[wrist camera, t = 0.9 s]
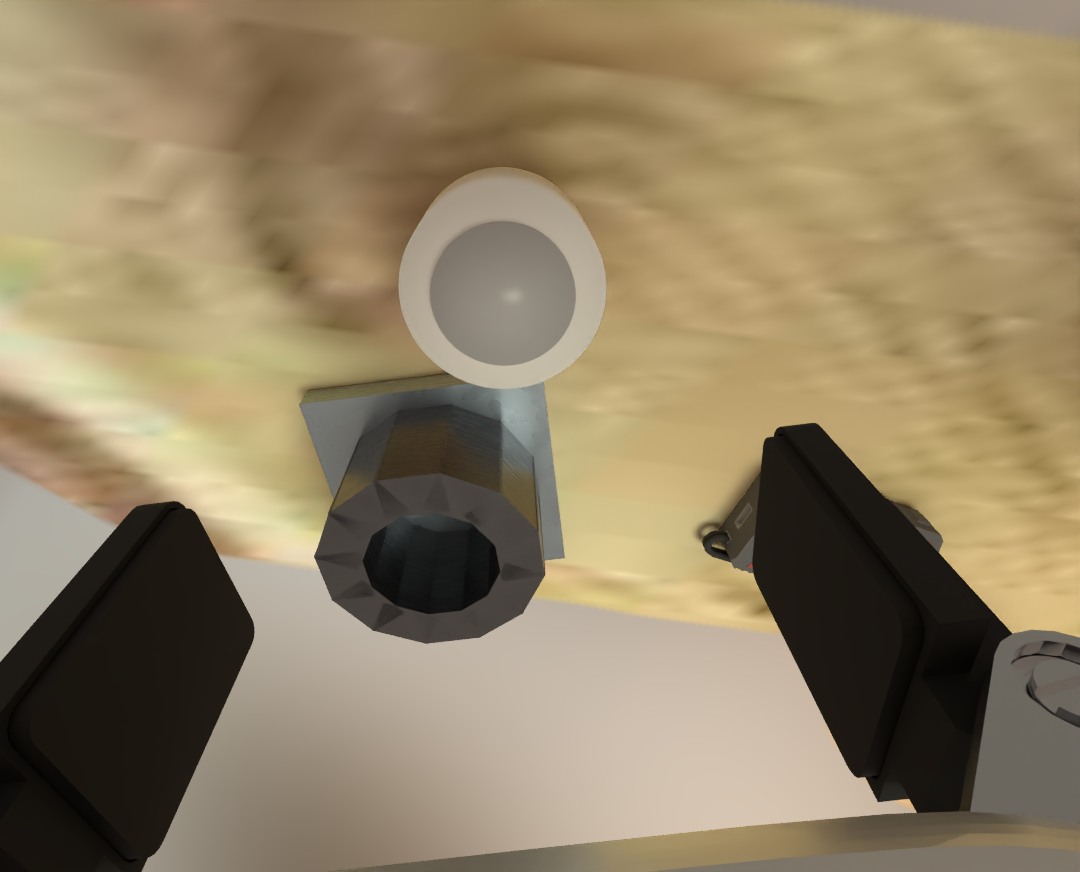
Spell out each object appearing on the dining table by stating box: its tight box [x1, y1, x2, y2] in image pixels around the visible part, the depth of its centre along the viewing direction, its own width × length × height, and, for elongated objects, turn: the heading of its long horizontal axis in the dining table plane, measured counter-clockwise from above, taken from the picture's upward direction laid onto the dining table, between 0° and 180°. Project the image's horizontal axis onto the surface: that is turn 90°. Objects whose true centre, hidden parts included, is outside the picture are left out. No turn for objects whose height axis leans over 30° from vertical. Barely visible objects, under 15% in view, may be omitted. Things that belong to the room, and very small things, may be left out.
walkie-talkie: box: [702, 473, 943, 573], centre depth 36 cm, size 9×4×20 cm
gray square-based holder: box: [299, 373, 565, 644], centre depth 30 cm, size 12×12×8 cm
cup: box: [398, 167, 606, 389], centre depth 24 cm, size 7×7×8 cm
